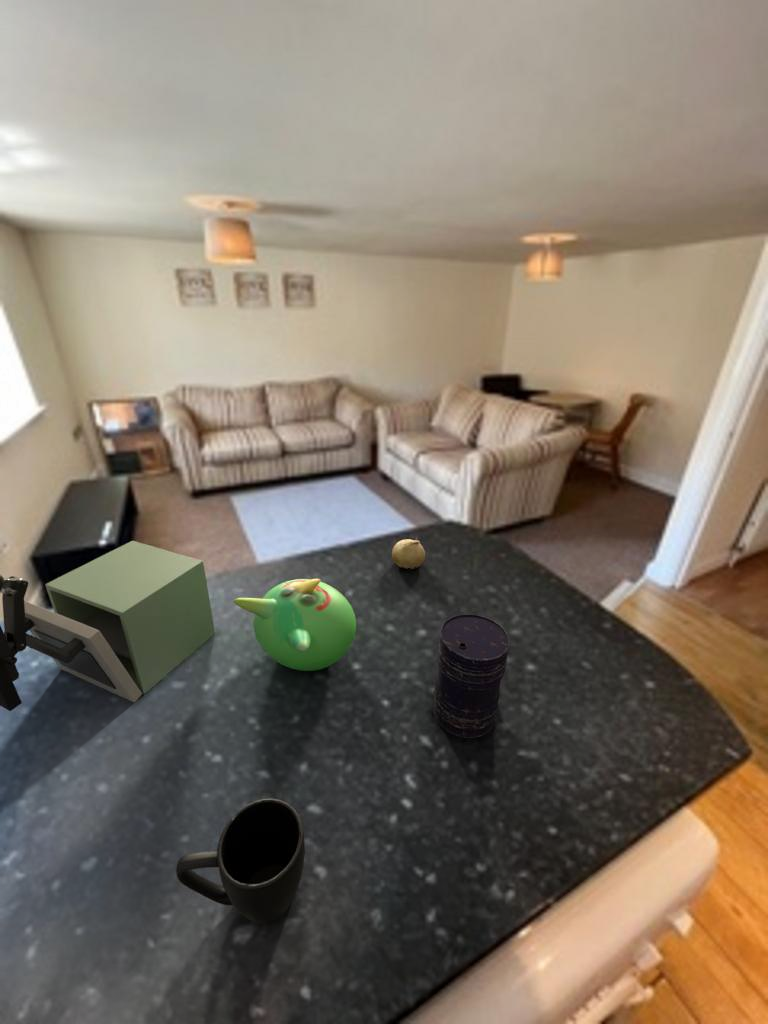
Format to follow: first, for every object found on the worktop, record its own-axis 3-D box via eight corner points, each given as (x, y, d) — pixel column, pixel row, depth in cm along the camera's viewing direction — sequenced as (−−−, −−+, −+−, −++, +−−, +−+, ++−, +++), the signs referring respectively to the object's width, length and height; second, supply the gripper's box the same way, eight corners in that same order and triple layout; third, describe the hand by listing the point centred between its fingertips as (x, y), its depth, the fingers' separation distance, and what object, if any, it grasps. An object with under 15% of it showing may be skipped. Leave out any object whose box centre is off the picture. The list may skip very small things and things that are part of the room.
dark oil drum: (458, 677, 76) (467, 605, 70) (508, 711, 70) (523, 636, 64) (419, 709, 70) (425, 634, 64) (471, 751, 64) (483, 672, 57)
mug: (197, 864, 50) (183, 811, 46) (306, 843, 52) (302, 791, 48) (182, 960, 43) (164, 907, 39) (309, 932, 45) (304, 879, 41)
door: (117, 721, 67) (67, 658, 58) (43, 685, 73) (-13, 622, 64) (142, 694, 71) (99, 630, 61) (69, 661, 77) (20, 598, 67)
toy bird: (373, 648, 82) (374, 581, 76) (310, 711, 69) (306, 636, 63) (300, 613, 91) (296, 550, 85) (233, 662, 78) (222, 592, 72)
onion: (406, 577, 104) (408, 550, 101) (384, 563, 109) (385, 537, 106) (431, 566, 109) (433, 540, 106) (408, 553, 114) (410, 528, 111)
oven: (144, 694, 71) (122, 612, 64) (71, 662, 77) (44, 584, 70) (215, 633, 85) (203, 560, 78) (149, 609, 90) (132, 540, 84)
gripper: (-118, 591, 44) (-30, 754, 54) (24, 535, 55) (75, 679, 65) (-156, 573, 47) (-66, 731, 56) (-13, 523, 57) (41, 663, 67)
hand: (9, 703), depth 61 cm, fingers closed
